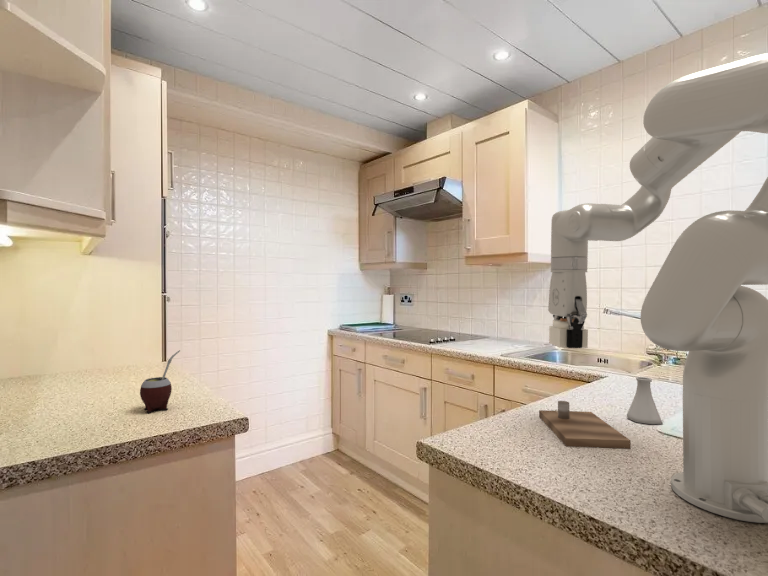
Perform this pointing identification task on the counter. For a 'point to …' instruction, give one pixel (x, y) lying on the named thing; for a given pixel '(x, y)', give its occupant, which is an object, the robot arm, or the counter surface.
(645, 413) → the flask
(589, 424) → the hub board
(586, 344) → the knob
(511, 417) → the counter surface
